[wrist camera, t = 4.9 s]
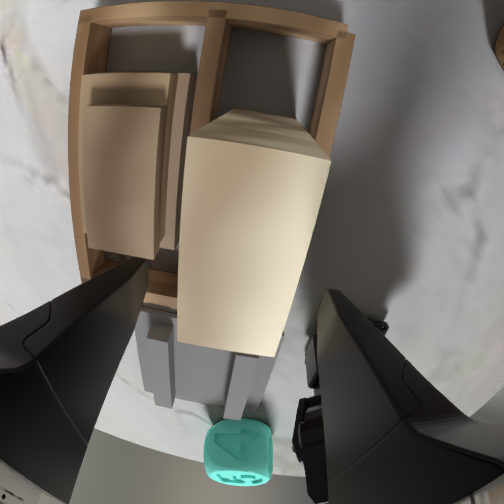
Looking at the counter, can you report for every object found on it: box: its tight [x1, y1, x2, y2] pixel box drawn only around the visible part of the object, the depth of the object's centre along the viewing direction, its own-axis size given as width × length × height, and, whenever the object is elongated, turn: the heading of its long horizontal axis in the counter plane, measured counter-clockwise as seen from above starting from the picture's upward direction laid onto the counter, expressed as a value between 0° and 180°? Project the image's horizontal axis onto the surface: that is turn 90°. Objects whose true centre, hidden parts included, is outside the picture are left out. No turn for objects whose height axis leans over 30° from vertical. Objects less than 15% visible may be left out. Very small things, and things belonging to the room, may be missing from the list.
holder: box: [135, 307, 284, 421], centre depth 30 cm, size 14×14×3 cm
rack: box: [68, 1, 355, 308], centre depth 19 cm, size 16×21×3 cm
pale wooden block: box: [177, 108, 331, 357], centre depth 15 cm, size 4×8×12 cm, turn 171°
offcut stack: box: [79, 72, 198, 260], centre depth 18 cm, size 7×12×5 cm, turn 171°
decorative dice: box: [204, 418, 273, 486], centre depth 35 cm, size 8×8×8 cm
